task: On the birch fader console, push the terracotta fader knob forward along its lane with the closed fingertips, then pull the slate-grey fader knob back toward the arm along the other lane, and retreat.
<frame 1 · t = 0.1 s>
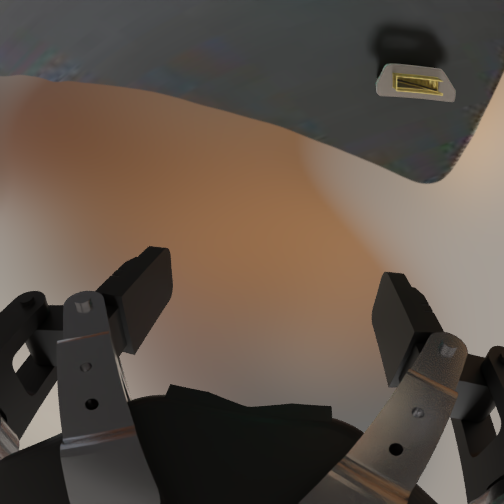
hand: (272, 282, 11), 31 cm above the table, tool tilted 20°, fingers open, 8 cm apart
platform: (405, 72, 30), on the table
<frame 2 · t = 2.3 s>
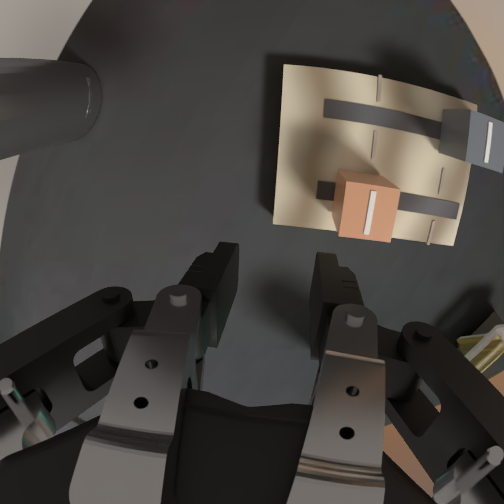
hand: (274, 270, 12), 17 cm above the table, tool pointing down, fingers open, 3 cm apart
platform: (470, 326, 32), on the table
fader 2: (472, 138, 19), point 5 cm above the table, slide at 9.0 cm
fader 1: (363, 203, 22), point 5 cm above the table, slide at 0.0 cm
console: (378, 155, 25), on the table
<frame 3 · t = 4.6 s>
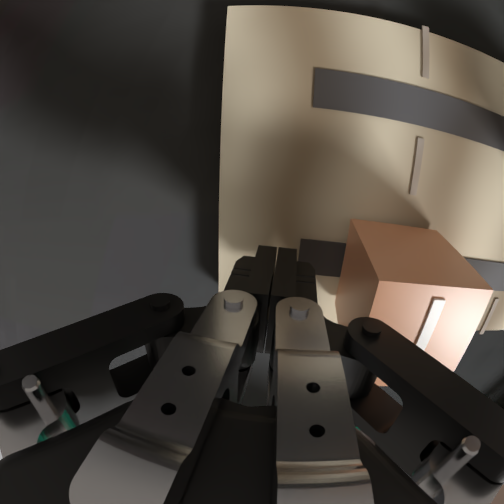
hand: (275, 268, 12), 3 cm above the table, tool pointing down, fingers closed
fader 1: (401, 299, 10), point 5 cm above the table, slide at 0.4 cm, touching gripper
console: (417, 183, 13), on the table
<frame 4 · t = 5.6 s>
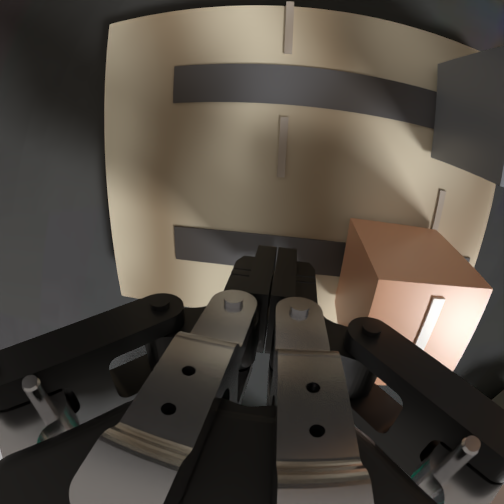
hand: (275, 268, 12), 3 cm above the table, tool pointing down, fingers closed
fader 1: (401, 298, 10), point 5 cm above the table, slide at 5.9 cm, touching gripper
console: (305, 166, 14), on the table
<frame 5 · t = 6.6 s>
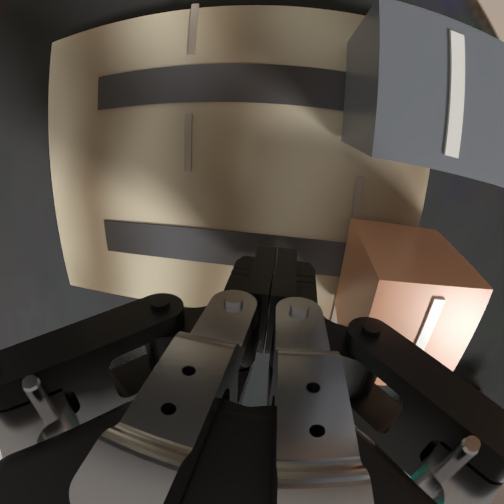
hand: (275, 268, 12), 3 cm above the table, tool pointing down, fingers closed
fader 2: (419, 96, 7), point 5 cm above the table, slide at 9.0 cm
fader 1: (401, 298, 10), point 5 cm above the table, slide at 9.8 cm, touching gripper
console: (222, 160, 14), on the table
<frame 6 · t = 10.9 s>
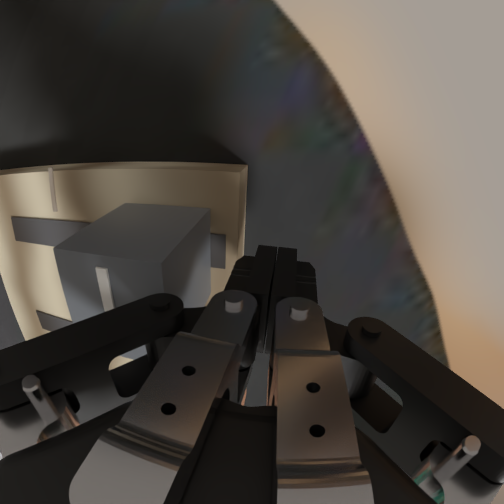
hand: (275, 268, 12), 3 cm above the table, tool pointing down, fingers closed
fader 2: (142, 275, 11), point 5 cm above the table, slide at 7.9 cm, touching gripper
fader 1: (200, 401, 14), point 5 cm above the table, slide at 9.8 cm
console: (100, 275, 18), on the table
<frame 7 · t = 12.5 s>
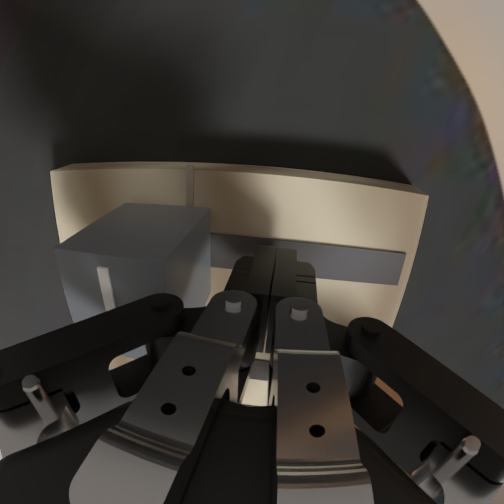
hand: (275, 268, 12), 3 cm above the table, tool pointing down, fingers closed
fader 2: (143, 275, 11), point 5 cm above the table, slide at 0.0 cm, touching gripper
fader 1: (357, 415, 13), point 5 cm above the table, slide at 9.8 cm
console: (222, 293, 17), on the table
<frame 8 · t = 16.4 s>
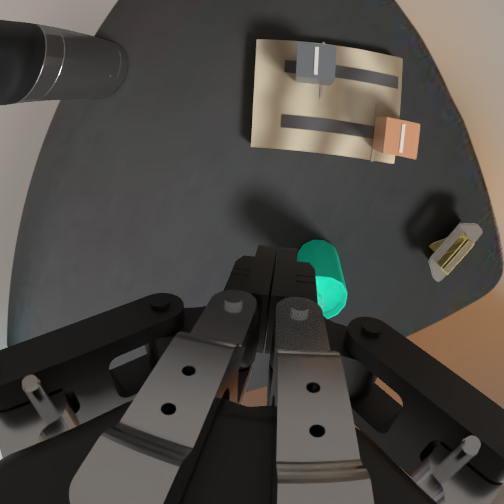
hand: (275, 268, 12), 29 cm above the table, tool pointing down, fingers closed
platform: (440, 235, 39), on the table
fader 2: (315, 64, 28), point 5 cm above the table, slide at 0.0 cm
fader 1: (395, 136, 30), point 5 cm above the table, slide at 9.8 cm
candle: (317, 258, 43), on the table
console: (327, 98, 34), on the table
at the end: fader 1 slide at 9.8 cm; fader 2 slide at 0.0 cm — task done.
